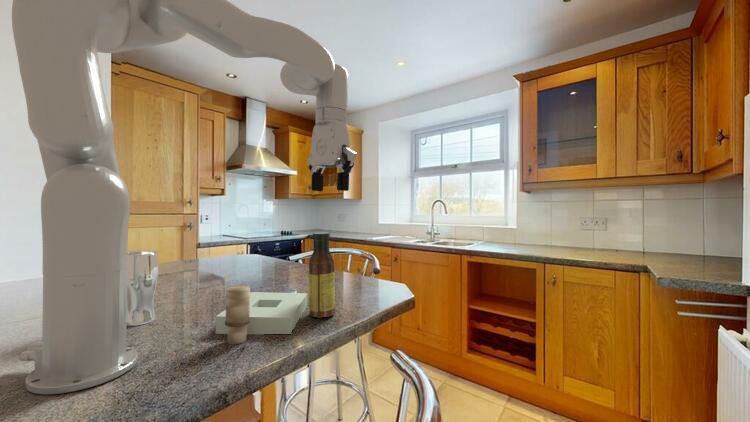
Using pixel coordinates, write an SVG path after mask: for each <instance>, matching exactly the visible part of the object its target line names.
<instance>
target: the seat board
mask: <svg viewBox="0 0 750 422" xmlns="http://www.w3.org/2000/svg"><path fill="white" fill-rule="evenodd" d="M306 306H307V307H308V293H307V292H267V291H266V292H264V291H263V292H261V291H250V310H249V318H250V322H249V323H248V324H247V335H264V334H291V335H292V333H293V332H292V330H293V329H294V330H295V328H296V326H297V325H296V323H297V322H298V323H299V321H300V320H299V318H300V317H302V316H303V315H302V313H303V312H304V313H305V311H306V309H307V308H306ZM305 308H306V309H305ZM304 310H305V311H304ZM304 313H303V314H304ZM301 315H302V316H301ZM300 319H301V318H300ZM225 320H226V308H225V309H224V310H223V311H222V312H220V313H219V314H217V315H216V316H215V335H221V334H223V335H228V326H226V325H225ZM298 320H299V321H298ZM298 323H297V324H298ZM295 325H296V326H295ZM294 327H295V328H294ZM294 330H293V331H294ZM291 332H292V333H291Z"/></svg>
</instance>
